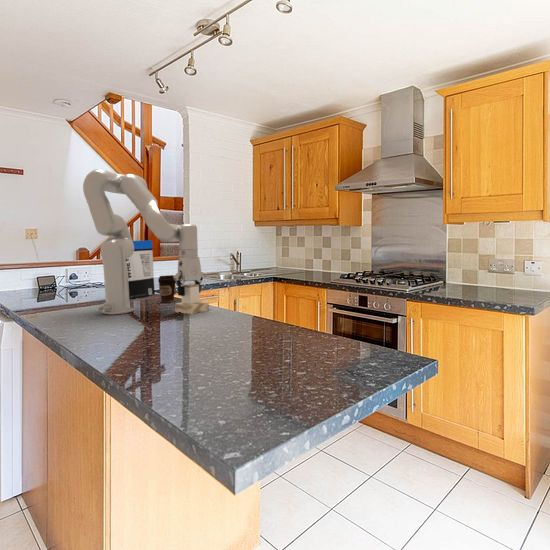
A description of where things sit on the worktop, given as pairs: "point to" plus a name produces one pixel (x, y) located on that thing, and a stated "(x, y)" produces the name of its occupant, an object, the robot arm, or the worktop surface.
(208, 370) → the worktop surface
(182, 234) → the robot arm
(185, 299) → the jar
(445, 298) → the worktop surface
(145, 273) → the protein powder
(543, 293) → the worktop surface
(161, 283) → the coffee cup
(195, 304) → the block
